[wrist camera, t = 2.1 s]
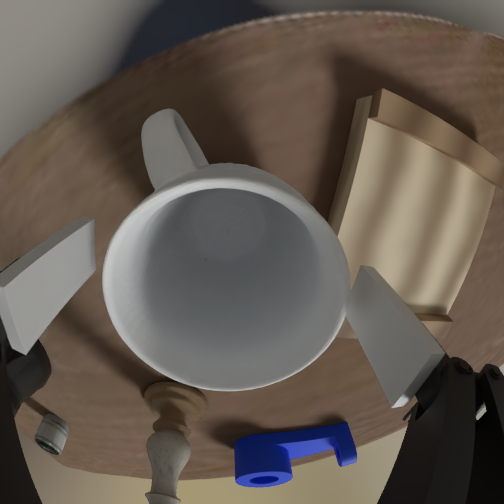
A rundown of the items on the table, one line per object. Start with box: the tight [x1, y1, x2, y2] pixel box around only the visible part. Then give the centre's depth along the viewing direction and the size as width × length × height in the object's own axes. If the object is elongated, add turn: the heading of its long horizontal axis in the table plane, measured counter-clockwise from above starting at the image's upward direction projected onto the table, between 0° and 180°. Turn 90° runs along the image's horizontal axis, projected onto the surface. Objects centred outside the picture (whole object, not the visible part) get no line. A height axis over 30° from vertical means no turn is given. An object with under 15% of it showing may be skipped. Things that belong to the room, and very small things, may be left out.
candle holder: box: [144, 381, 208, 504], centre depth 23 cm, size 9×9×20 cm
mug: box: [102, 109, 351, 391], centre depth 16 cm, size 15×11×13 cm
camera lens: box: [35, 413, 69, 455], centre depth 33 cm, size 6×6×8 cm
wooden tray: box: [327, 88, 504, 339], centre depth 22 cm, size 18×21×4 cm
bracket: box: [234, 423, 357, 487], centre depth 35 cm, size 20×9×8 cm, turn 98°
